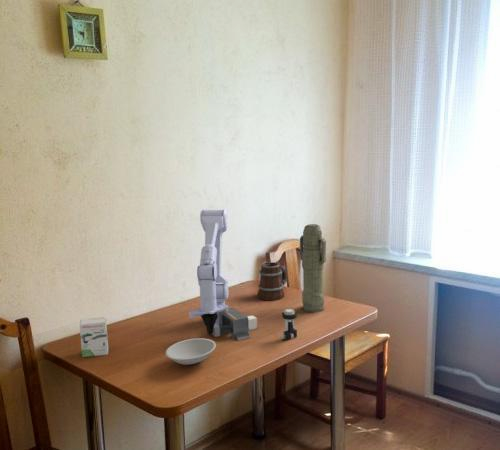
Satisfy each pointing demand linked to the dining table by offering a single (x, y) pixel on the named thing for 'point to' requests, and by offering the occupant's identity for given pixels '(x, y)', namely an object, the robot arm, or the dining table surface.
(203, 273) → the robot arm
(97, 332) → the ink box
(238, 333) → the motor housing
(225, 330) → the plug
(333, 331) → the dining table surface
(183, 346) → the dish
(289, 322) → the push button
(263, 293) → the mug
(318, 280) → the thermos
